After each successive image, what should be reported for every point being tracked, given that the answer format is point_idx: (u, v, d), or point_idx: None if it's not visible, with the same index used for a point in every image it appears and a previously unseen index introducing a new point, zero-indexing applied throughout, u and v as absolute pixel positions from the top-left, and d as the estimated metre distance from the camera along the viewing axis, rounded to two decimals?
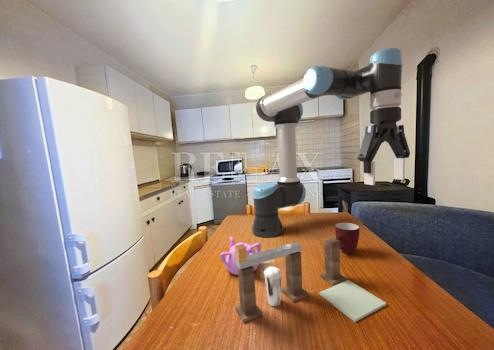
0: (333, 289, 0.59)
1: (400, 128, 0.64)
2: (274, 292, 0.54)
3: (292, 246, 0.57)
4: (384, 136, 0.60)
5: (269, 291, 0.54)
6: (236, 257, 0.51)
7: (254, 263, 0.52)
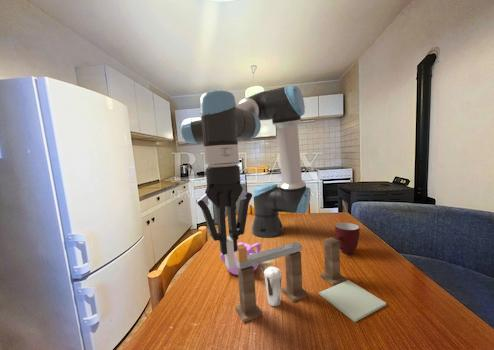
0: (333, 289, 0.59)
1: (246, 195, 0.50)
2: (274, 292, 0.54)
3: (292, 246, 0.57)
4: (221, 205, 0.47)
5: (269, 291, 0.54)
6: (236, 257, 0.51)
7: (254, 263, 0.52)
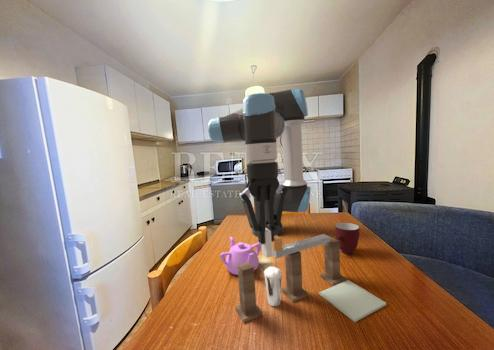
0: (333, 289, 0.59)
1: (282, 189, 0.54)
2: (274, 292, 0.54)
3: (321, 238, 0.61)
4: (261, 199, 0.51)
5: (269, 291, 0.54)
6: (272, 247, 0.55)
7: (289, 253, 0.56)
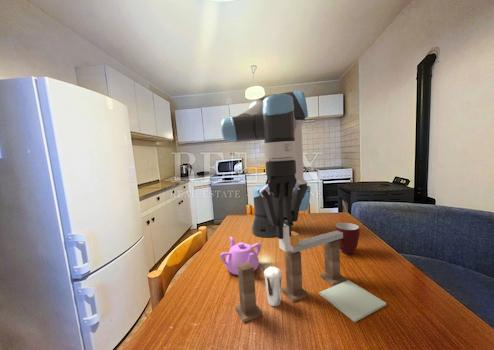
0: (333, 289, 0.59)
1: (299, 186, 0.56)
2: (274, 292, 0.54)
3: (335, 234, 0.63)
4: (280, 195, 0.53)
5: (269, 291, 0.54)
6: None
7: (305, 248, 0.58)
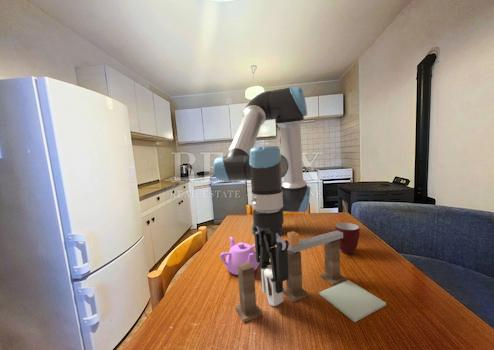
0: (333, 289, 0.59)
1: None
2: None
3: (335, 234, 0.63)
4: (259, 240, 0.56)
5: (269, 291, 0.54)
6: (289, 242, 0.58)
7: (305, 248, 0.58)
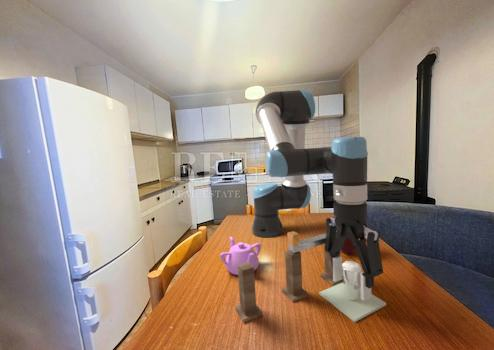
0: (333, 289, 0.59)
1: None
2: (355, 286, 0.53)
3: None
4: (337, 232, 0.55)
5: (349, 285, 0.54)
6: (289, 242, 0.58)
7: (305, 248, 0.58)
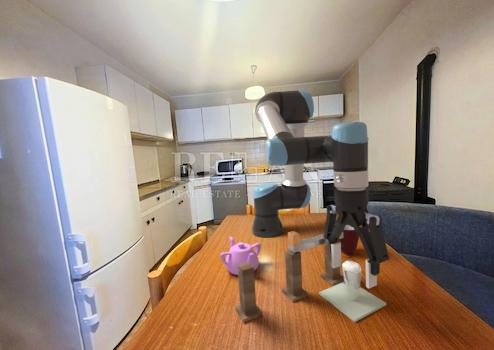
0: (333, 289, 0.59)
1: None
2: (355, 286, 0.53)
3: None
4: (338, 220, 0.55)
5: (349, 285, 0.54)
6: (289, 242, 0.58)
7: (305, 248, 0.58)
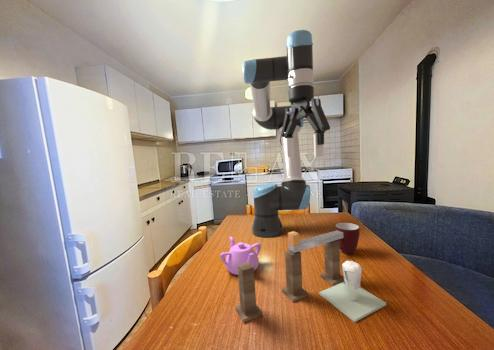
0: (333, 289, 0.59)
1: None
2: (355, 286, 0.53)
3: (335, 234, 0.63)
4: (291, 115, 0.69)
5: (349, 285, 0.54)
6: (289, 242, 0.58)
7: (305, 248, 0.58)
